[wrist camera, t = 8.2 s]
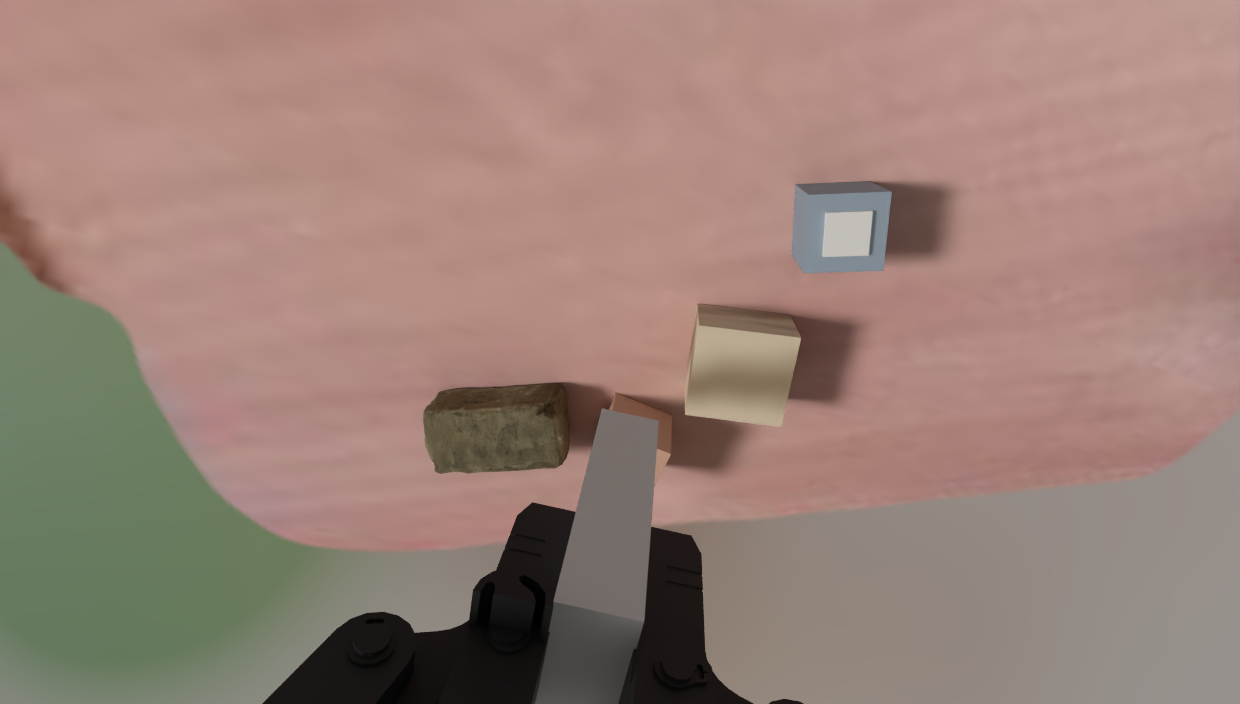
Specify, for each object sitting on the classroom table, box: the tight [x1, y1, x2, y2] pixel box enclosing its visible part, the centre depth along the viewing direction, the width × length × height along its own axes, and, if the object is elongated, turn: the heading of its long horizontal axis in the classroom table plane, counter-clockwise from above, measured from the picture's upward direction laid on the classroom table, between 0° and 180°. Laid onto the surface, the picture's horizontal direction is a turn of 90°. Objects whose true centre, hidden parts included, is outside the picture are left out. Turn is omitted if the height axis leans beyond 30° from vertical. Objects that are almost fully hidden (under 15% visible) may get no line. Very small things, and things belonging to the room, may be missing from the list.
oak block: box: [685, 304, 801, 427], centre depth 47 cm, size 7×7×5 cm
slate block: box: [792, 181, 892, 273], centre depth 42 cm, size 5×5×5 cm
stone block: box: [423, 383, 569, 474], centre depth 51 cm, size 6×12×5 cm, turn 97°
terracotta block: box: [609, 393, 672, 487], centre depth 49 cm, size 5×5×6 cm
